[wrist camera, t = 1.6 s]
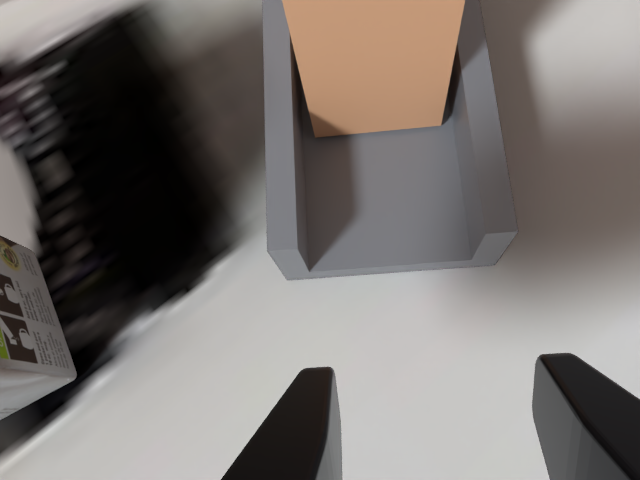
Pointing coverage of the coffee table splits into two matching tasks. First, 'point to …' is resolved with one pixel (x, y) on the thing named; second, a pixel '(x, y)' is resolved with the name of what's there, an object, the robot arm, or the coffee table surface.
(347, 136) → the charcoal chute
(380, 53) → the terracotta block
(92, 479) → the coffee table surface
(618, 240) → the coffee table surface
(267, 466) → the robot arm
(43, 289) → the coffee box
